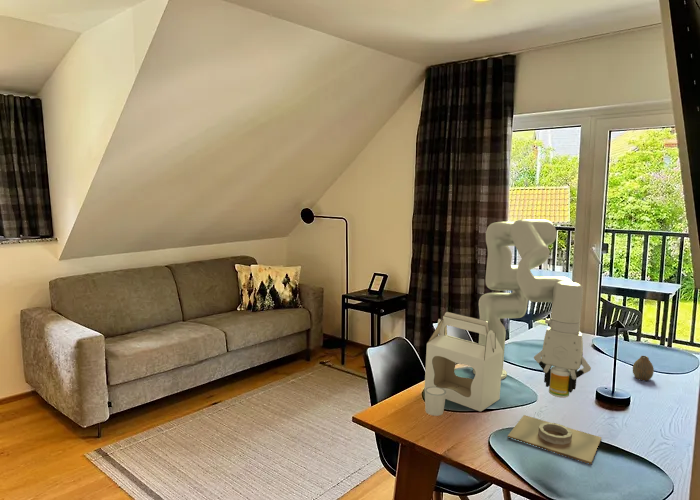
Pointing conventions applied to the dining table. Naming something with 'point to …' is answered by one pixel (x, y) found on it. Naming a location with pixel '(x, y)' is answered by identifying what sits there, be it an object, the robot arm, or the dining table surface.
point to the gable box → (464, 362)
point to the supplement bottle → (559, 382)
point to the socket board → (569, 450)
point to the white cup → (435, 400)
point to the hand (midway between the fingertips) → (559, 387)
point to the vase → (643, 368)
